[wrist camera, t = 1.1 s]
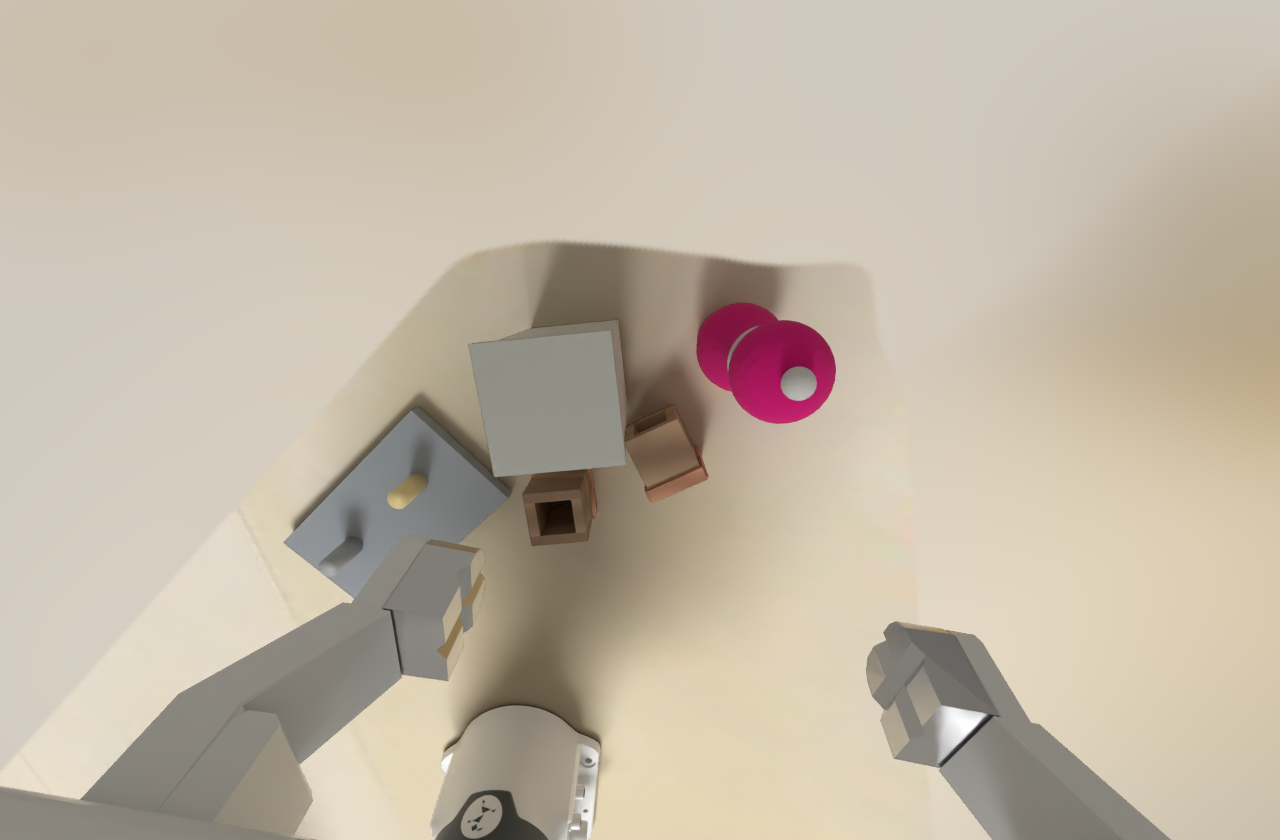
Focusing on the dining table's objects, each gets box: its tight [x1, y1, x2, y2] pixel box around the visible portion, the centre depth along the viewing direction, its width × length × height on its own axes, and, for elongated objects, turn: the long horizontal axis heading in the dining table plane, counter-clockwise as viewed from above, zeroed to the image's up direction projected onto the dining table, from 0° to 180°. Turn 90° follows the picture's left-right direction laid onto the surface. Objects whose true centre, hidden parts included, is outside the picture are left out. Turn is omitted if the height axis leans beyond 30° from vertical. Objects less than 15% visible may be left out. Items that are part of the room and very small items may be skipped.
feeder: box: [468, 320, 628, 477], centre depth 37 cm, size 11×9×15 cm
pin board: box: [283, 406, 512, 599], centre depth 45 cm, size 12×20×6 cm, turn 133°
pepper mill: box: [696, 303, 836, 424], centre depth 33 cm, size 7×7×20 cm
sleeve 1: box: [522, 469, 597, 546], centre depth 44 cm, size 6×6×6 cm
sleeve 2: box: [624, 405, 708, 503], centre depth 43 cm, size 6×6×5 cm
